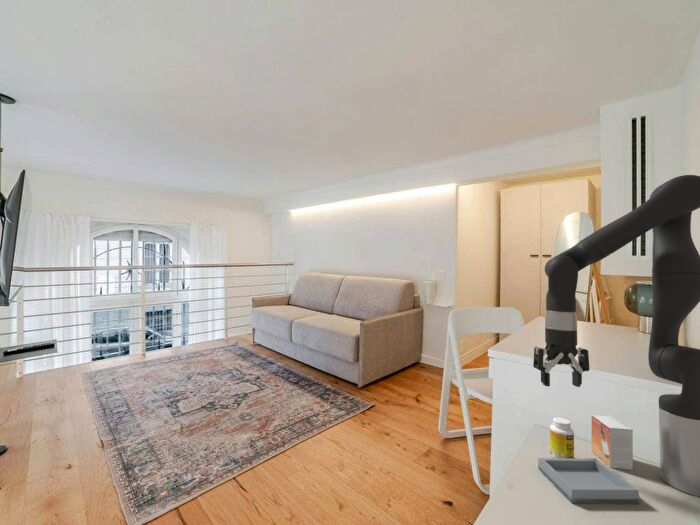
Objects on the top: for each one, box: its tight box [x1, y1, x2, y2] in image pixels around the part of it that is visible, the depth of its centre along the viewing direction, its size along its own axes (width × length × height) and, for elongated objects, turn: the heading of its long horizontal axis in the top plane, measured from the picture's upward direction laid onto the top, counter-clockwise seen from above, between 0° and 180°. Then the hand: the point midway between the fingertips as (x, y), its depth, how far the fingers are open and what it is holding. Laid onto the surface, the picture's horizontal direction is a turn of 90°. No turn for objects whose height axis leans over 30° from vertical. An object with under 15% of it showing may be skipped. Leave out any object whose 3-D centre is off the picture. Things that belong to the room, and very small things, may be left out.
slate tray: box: [537, 457, 640, 505], centre depth 76 cm, size 15×12×3 cm
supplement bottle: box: [549, 417, 575, 458], centre depth 87 cm, size 6×6×10 cm
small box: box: [591, 414, 634, 471], centre depth 86 cm, size 8×6×10 cm
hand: (561, 385), depth 88 cm, fingers open, 8 cm apart
